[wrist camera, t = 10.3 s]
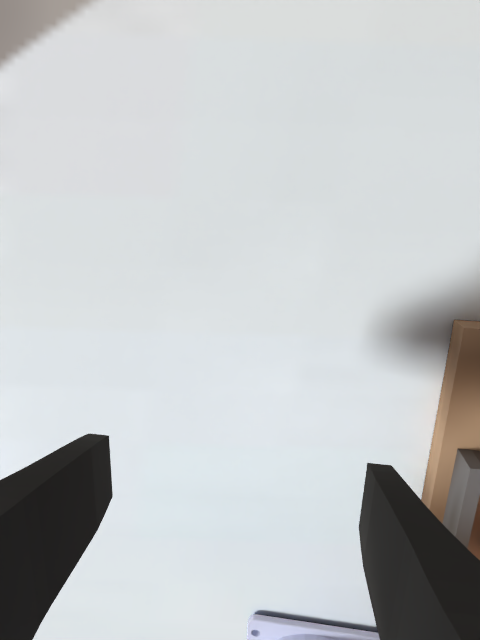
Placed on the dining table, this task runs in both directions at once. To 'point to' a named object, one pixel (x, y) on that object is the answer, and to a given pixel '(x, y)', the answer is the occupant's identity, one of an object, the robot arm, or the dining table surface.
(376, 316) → the dining table surface
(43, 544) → the robot arm
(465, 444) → the gear board
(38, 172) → the dining table surface
